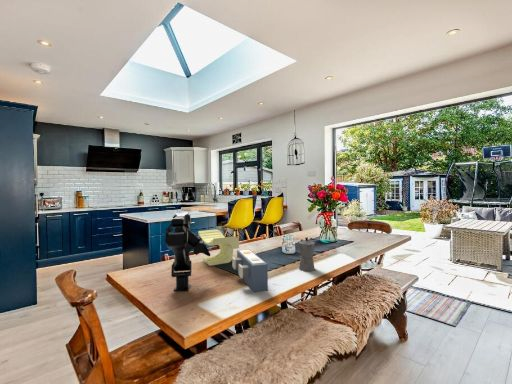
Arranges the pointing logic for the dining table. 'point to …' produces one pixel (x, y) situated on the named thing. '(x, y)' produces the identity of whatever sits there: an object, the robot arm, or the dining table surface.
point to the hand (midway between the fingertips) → (209, 255)
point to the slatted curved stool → (224, 242)
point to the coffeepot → (306, 255)
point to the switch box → (254, 270)
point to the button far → (236, 262)
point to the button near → (243, 270)
